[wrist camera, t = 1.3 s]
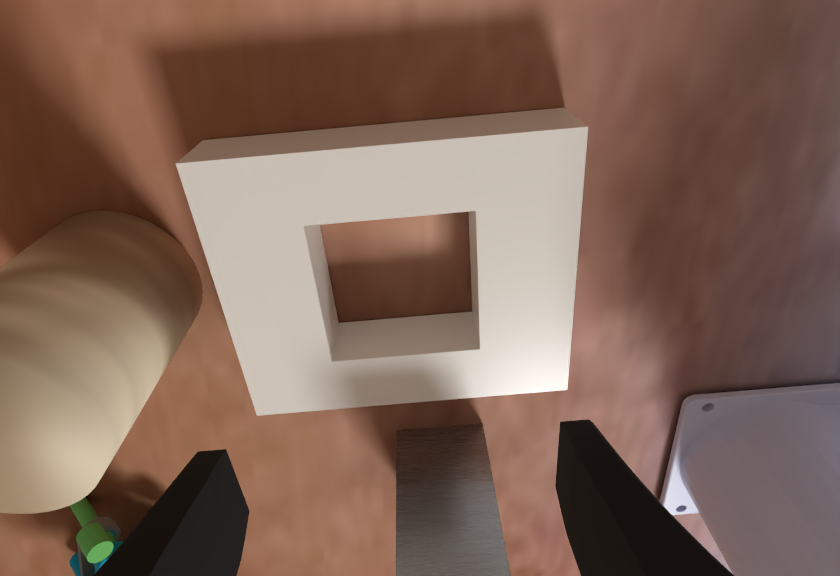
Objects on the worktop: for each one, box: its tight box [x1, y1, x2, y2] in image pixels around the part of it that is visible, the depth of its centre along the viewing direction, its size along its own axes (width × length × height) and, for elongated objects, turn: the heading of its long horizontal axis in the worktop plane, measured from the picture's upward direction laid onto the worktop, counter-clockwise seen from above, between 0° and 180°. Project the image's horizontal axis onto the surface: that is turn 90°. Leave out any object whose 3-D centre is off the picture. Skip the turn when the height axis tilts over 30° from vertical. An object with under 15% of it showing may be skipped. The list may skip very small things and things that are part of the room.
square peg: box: [396, 424, 511, 576], centre depth 22 cm, size 4×4×8 cm
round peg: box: [0, 210, 203, 514], centre depth 17 cm, size 6×6×8 cm
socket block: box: [176, 108, 588, 416], centre depth 19 cm, size 12×10×2 cm
